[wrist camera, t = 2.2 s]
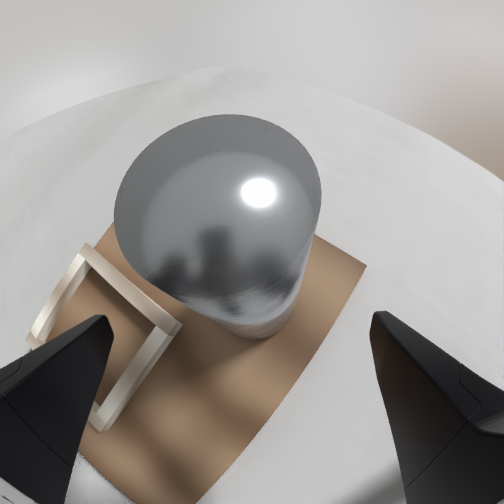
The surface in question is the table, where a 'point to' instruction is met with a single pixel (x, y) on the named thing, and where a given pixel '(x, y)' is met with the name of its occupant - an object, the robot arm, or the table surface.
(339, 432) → the table surface
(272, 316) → the grey cylinder
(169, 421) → the board
